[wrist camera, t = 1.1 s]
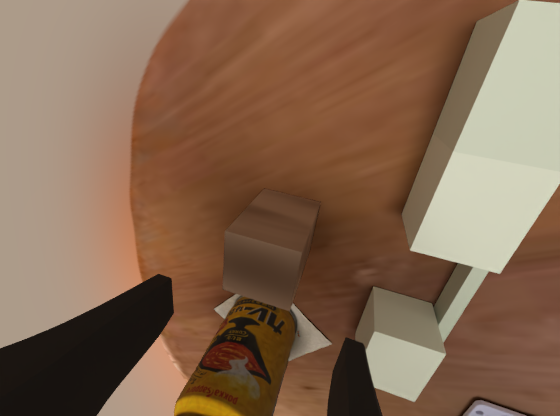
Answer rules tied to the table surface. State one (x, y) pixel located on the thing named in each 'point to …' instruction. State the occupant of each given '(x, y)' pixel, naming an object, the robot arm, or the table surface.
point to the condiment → (247, 360)
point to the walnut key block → (269, 247)
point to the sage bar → (474, 186)
